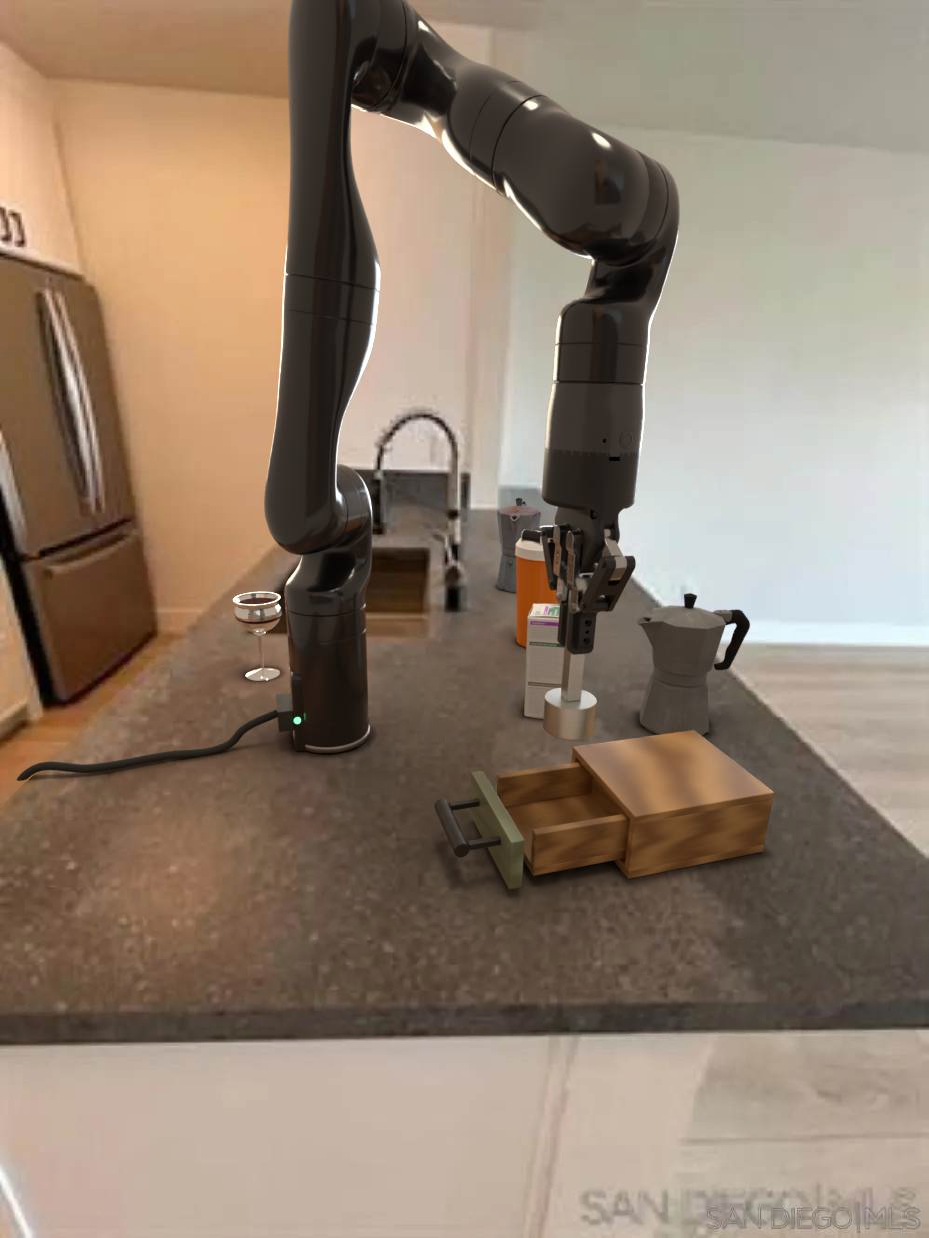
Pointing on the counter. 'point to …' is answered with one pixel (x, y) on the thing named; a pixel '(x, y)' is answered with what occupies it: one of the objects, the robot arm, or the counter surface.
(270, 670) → the wineglass
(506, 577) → the moka pot
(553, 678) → the syrup box
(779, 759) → the counter surface
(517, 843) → the drawer
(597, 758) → the cabinet
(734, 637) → the coffeepot
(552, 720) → the post on round base
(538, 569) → the shaker bottle
